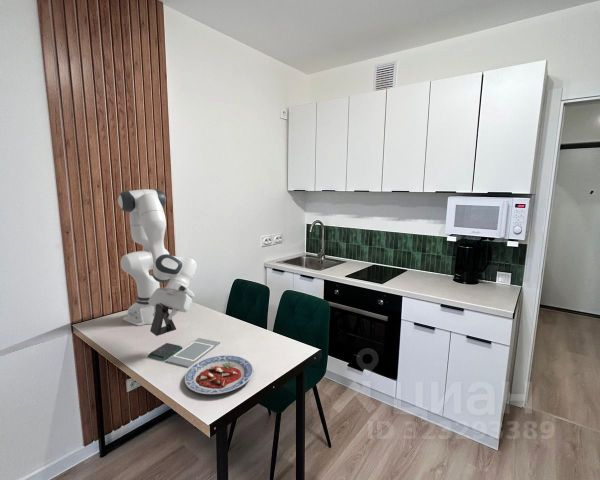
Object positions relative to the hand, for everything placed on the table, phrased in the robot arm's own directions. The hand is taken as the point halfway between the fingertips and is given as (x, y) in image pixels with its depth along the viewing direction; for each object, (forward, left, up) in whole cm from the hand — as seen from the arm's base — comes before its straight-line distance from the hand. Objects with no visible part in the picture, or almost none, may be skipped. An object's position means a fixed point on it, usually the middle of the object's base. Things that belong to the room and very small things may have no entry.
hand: (161, 317), depth 143 cm
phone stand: (0, +1, -6) cm, 7 cm away
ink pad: (0, +1, -17) cm, 17 cm away
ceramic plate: (+34, -6, -17) cm, 38 cm away
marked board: (+12, +6, -17) cm, 21 cm away
